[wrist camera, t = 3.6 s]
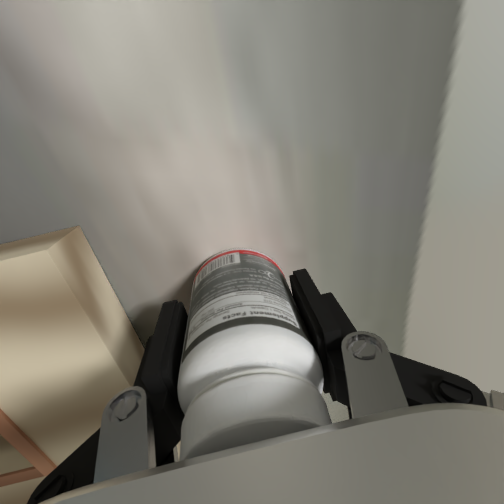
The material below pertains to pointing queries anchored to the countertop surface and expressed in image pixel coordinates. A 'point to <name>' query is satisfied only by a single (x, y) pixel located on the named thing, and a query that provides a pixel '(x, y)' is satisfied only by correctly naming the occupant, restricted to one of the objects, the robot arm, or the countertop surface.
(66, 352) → the socket plate
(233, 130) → the countertop surface
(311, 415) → the pill bottle
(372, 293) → the countertop surface
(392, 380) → the robot arm
